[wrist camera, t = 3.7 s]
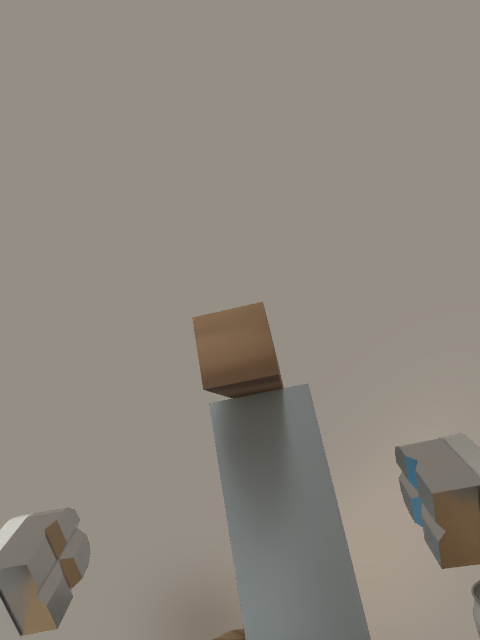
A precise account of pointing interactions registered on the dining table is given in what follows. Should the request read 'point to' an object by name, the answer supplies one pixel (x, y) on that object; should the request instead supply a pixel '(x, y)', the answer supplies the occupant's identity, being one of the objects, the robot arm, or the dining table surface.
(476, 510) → the robot arm
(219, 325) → the walnut block
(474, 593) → the can
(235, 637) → the dining table surface
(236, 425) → the slate stand
